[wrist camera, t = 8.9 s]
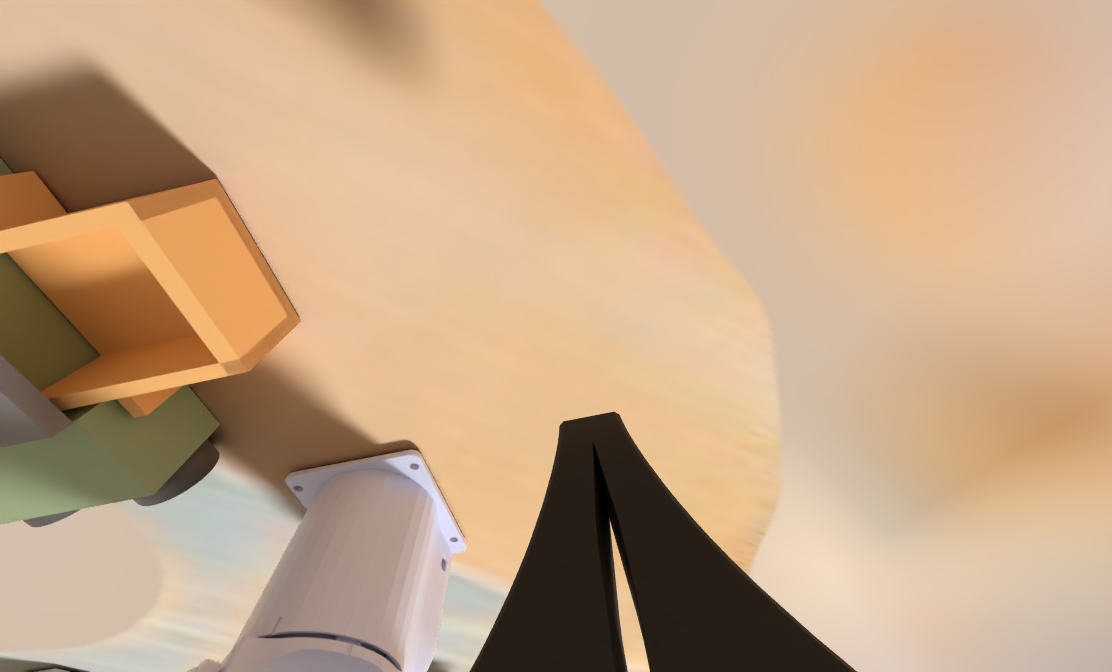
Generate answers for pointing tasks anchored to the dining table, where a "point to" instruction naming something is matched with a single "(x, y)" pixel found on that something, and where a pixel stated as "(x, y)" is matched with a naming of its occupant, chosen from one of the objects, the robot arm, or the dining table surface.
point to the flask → (53, 670)
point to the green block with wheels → (81, 422)
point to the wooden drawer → (147, 288)
